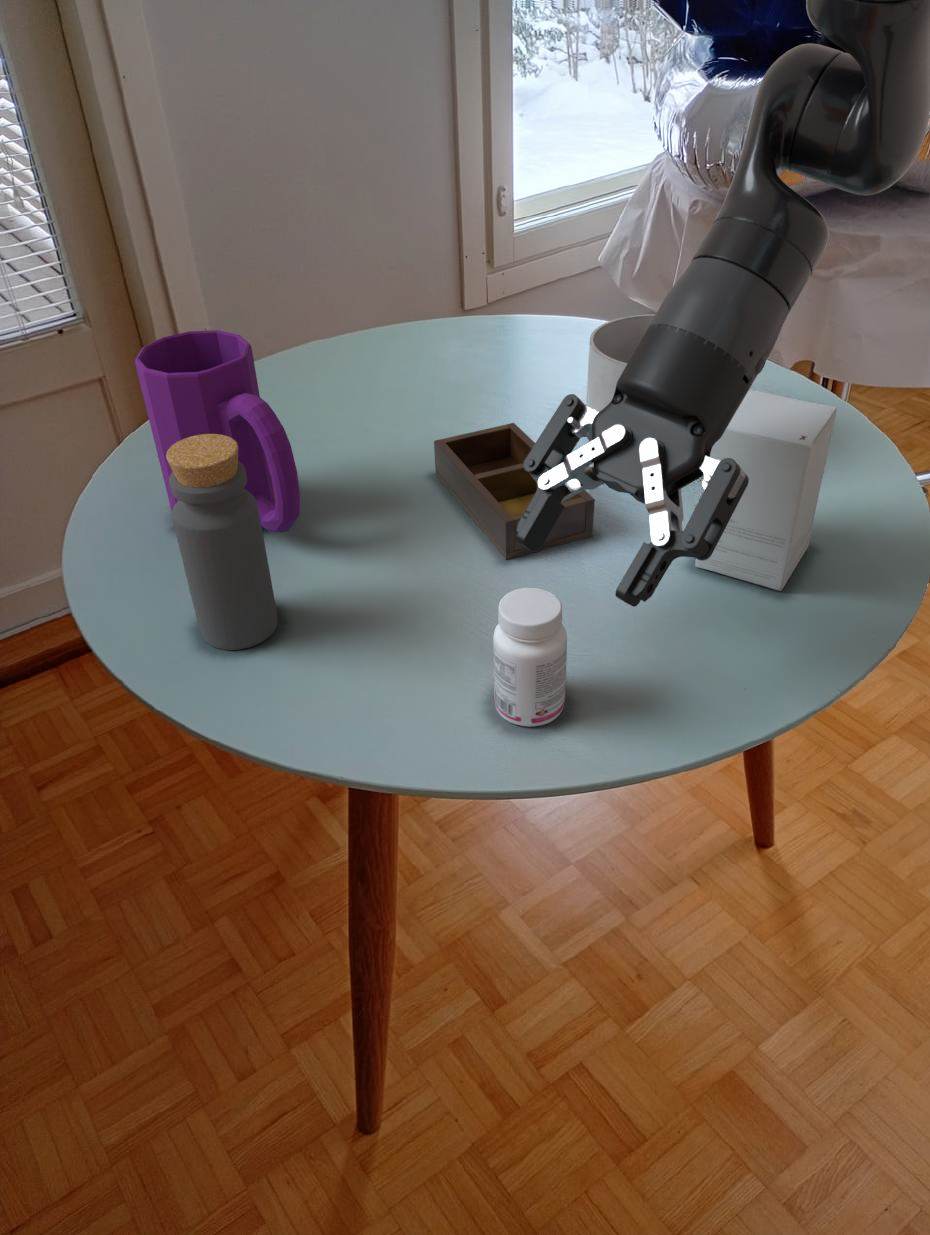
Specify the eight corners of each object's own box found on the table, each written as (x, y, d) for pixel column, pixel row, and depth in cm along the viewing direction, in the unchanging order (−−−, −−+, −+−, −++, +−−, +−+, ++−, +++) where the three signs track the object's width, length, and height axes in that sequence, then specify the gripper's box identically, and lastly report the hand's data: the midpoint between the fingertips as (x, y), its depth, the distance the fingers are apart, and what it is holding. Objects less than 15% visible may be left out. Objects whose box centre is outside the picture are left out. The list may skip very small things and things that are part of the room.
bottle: (293, 613, 75) (263, 437, 66) (249, 659, 71) (211, 478, 62) (230, 596, 77) (193, 423, 68) (184, 639, 73) (138, 461, 64)
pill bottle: (565, 682, 68) (569, 584, 63) (563, 730, 65) (568, 630, 59) (496, 679, 69) (495, 582, 64) (491, 727, 65) (490, 627, 60)
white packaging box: (810, 547, 80) (842, 406, 73) (780, 594, 76) (811, 447, 68) (723, 523, 84) (745, 385, 76) (690, 566, 79) (709, 423, 71)
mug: (237, 475, 93) (207, 320, 83) (346, 534, 84) (326, 368, 75) (153, 514, 87) (111, 353, 78) (260, 581, 79) (227, 410, 70)
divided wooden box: (513, 456, 94) (513, 422, 92) (592, 536, 83) (595, 499, 81) (435, 475, 92) (433, 440, 89) (505, 559, 80) (505, 522, 78)
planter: (742, 438, 96) (759, 334, 89) (675, 491, 88) (688, 382, 82) (629, 403, 102) (637, 304, 96) (558, 450, 95) (561, 346, 88)
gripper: (591, 294, 64) (467, 513, 65) (784, 356, 55) (637, 606, 56) (636, 349, 70) (522, 548, 71) (816, 411, 61) (683, 636, 62)
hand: (573, 573), depth 63 cm, fingers open, 8 cm apart
